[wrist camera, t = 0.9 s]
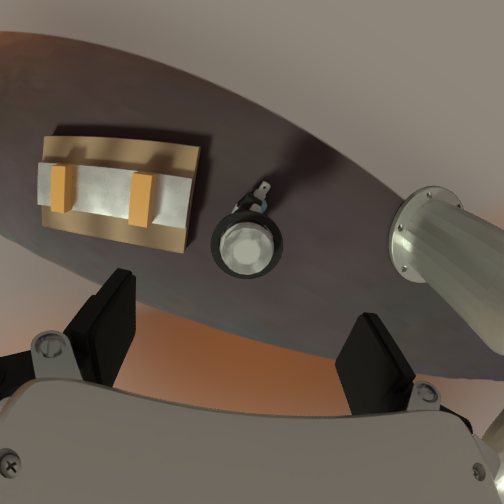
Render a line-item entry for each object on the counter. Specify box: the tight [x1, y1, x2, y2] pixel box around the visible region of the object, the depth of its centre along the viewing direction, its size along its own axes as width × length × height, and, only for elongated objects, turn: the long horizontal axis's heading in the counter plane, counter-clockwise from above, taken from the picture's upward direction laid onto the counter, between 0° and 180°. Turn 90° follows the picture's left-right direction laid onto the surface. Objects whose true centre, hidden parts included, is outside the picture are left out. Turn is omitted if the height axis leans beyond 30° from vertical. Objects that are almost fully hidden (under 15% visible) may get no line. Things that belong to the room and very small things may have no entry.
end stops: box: [51, 164, 157, 228], centre depth 24 cm, size 12×5×2 cm, turn 79°
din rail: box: [38, 162, 194, 229], centre depth 25 cm, size 19×5×1 cm, turn 79°
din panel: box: [42, 136, 201, 253], centre depth 27 cm, size 19×11×2 cm, turn 79°
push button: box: [211, 181, 283, 279], centre depth 24 cm, size 7×5×10 cm
